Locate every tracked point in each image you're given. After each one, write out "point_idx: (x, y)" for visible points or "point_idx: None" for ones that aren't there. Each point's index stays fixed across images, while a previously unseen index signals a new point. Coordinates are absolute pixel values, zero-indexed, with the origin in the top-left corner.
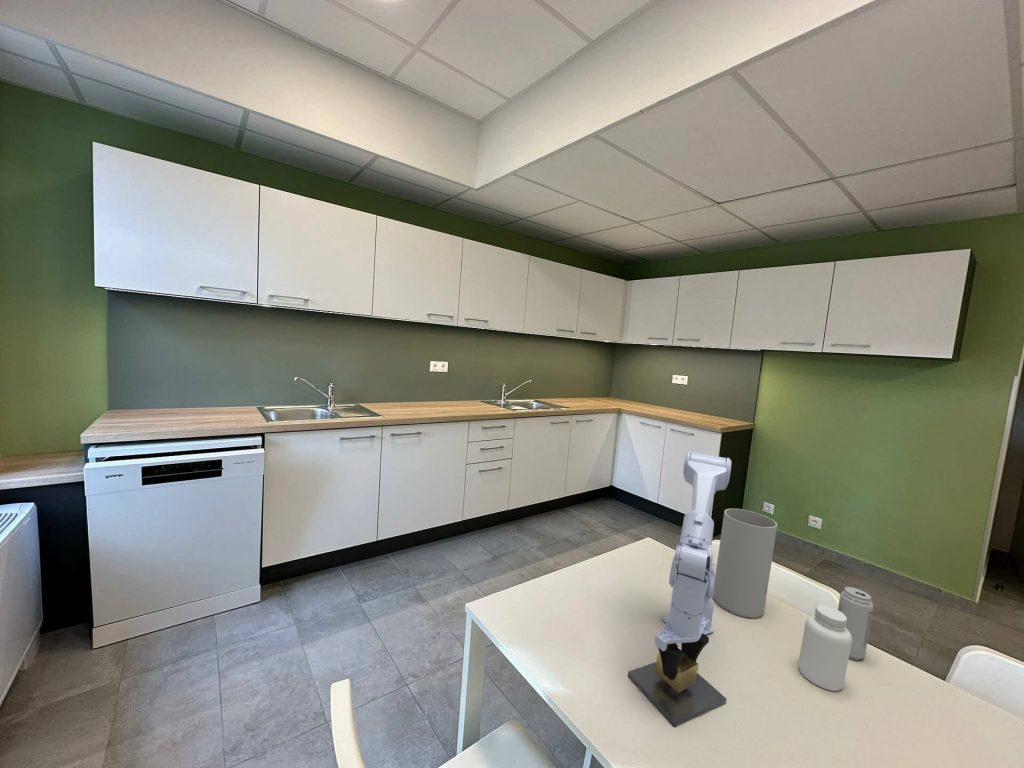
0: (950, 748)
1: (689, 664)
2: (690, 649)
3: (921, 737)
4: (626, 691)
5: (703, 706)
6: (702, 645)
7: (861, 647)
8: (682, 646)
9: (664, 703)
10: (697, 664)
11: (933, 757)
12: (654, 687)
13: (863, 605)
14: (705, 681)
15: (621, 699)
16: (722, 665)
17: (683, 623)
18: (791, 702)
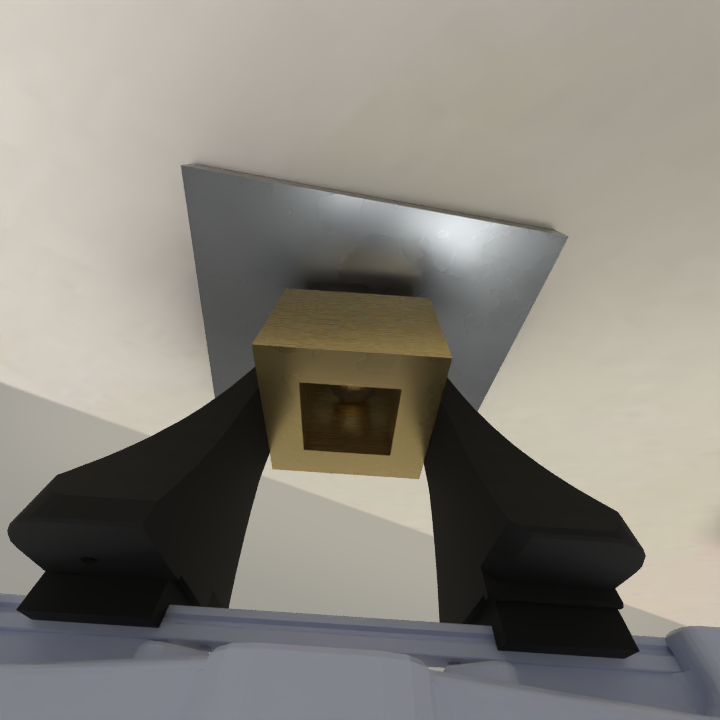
0: (674, 610)
1: (369, 463)
2: (441, 482)
3: (675, 596)
4: (135, 230)
5: None
6: (440, 614)
7: None
8: (450, 425)
9: (235, 366)
10: (411, 476)
11: (628, 603)
12: (251, 307)
13: None
14: (481, 389)
15: (88, 248)
16: (665, 363)
17: None
18: (611, 502)
